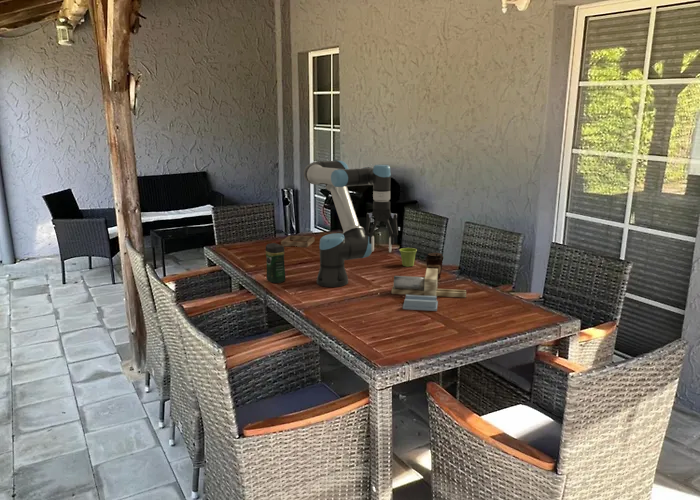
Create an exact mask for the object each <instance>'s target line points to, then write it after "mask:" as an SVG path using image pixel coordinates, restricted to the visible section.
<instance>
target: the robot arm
mask: <svg viewBox="0 0 700 500" xmlns="http://www.w3.org/2000/svg"><path fill="white" fill-rule="evenodd" d="M303 177H304V180H305V181H306V182H307V183H309V184H311V185H320V186H321V185H325V188H326V190H327V191H329V192H330V193H331V197H332V200H333V203H334V206H335V210H336V213H337V216H338V219H339V222H340V225H341V228H342V231H343V232H342V233H341V232H340V233H339V232H338V233H337V232H336V233H329V234H326V235H323V236H322V237H320V239H319V247H318V248H319V270H318V273H317V277H316V284H317V285H318V286H320V287H323V288H324V287H325V288H337V287H338V288H339V287H344V286H346V285H348V284H349V277H348V273H347V270H346V268H345V261H349V260H358V259H363V258H368V257H369V256H371V254H372V252H374V251H375V236H374V235H373V234H374V232H375V229H376V227H377V225H378V223H379V222H384V223H385V224H386V227H387V230H388V233H389V235H390V236H389V238H388V253H392V246H393V245H394V243H395V237H398V235H399V230H398V229H399V228H398V221H397V218H398V213H392V211H391V201H390V200H391V177H392V173H391V166H390V165H389V164H375V165H373V167H369V166H367V167H362V168H349V166H348V164H347V163H346V162H345V161H343V160H336V159H334V160H326V161H325V160H323V161H322V160H321V161H313V162H310V163H309V164H308V165H306V166H305V168H304V170H303ZM357 186H358V187H359V186H373V187H372V190H373V191H372V193H373V194H372V197H373V198H372V199H373V201H372V212H367V213H366V214H365V216H366V224H365V227H363V226H361V225H360V223H359V219H358V217H357V214H356V211H355V208H354V204H353V202H352V198H351V195H350V192H349V189H348V187H357ZM372 216H373V218H374V222H373V225H372V226H371V228H370V223H371V218H372ZM390 217H391V218H392V221H393V222H392V223H393V229H392V226H391V224H390V220H389V218H390ZM370 229H371V230H370Z"/></svg>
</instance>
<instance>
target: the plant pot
mask: <svg viewBox="0 0 700 500" xmlns="http://www.w3.org/2000/svg"><path fill="white" fill-rule="evenodd" d="M417 251H418V250H417V248H414V247H403V248H400V249H399V252H400V256H401V264H402V265H401V266H403V267H407V268H408V267H414V266H415V259H416V254H417Z"/></svg>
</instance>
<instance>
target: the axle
mask: <svg viewBox="0 0 700 500" xmlns="http://www.w3.org/2000/svg"><path fill="white" fill-rule="evenodd" d="M424 281H425V276H410V275H409V276H407V275H406V276H405V275H394V276H393V287H394V289H405V290H424ZM437 289H438V284H437V285H436V291H437Z"/></svg>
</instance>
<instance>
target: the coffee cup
mask: <svg viewBox="0 0 700 500" xmlns="http://www.w3.org/2000/svg"><path fill="white" fill-rule="evenodd" d="M425 259H426V269H427V268H434V269H438V279H437V282H439V281H441V275H442V270H443V260H444V255H443V253H440V252H430V253H427V256H426V257H425Z"/></svg>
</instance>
